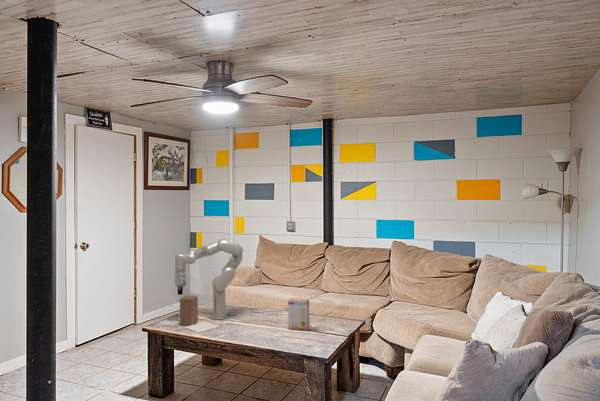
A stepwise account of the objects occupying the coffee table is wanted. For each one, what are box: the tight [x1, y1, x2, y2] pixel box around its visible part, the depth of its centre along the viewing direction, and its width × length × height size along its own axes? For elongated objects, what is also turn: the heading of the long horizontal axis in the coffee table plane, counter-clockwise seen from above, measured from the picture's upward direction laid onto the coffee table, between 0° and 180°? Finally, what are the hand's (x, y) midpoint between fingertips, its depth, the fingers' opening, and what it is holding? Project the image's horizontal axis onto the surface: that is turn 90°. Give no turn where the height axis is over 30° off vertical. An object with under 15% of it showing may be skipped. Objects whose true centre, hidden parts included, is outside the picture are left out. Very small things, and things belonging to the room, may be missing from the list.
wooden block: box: [179, 295, 199, 326], centre depth 324 cm, size 10×10×20 cm
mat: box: [184, 321, 221, 334], centre depth 314 cm, size 18×18×1 cm
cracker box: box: [287, 298, 311, 332], centre depth 308 cm, size 14×6×21 cm, turn 71°
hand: (180, 294), depth 332 cm, fingers closed
